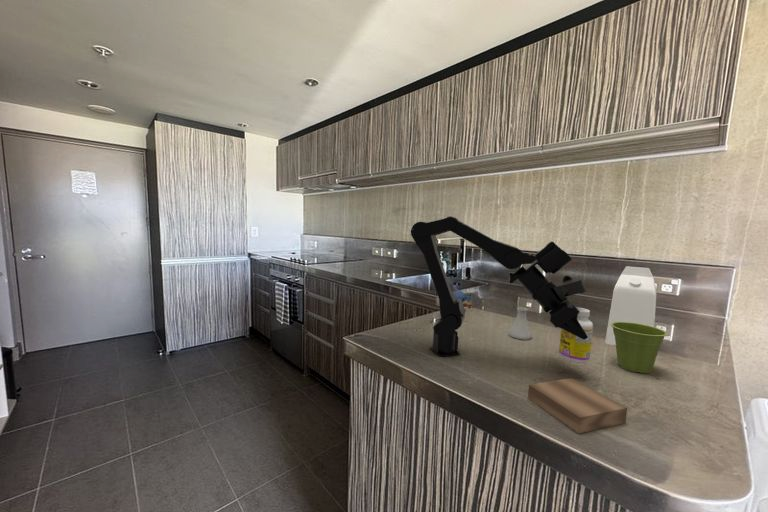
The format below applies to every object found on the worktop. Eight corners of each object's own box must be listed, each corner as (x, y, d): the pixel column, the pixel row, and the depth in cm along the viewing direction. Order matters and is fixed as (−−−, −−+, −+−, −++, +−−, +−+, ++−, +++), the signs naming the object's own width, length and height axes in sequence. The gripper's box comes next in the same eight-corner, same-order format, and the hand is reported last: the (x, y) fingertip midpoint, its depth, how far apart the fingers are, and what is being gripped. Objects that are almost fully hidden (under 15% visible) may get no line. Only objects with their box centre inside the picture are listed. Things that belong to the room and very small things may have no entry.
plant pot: (611, 355, 92) (615, 319, 91) (664, 369, 84) (669, 329, 83) (602, 366, 84) (606, 326, 83) (660, 383, 75) (665, 338, 74)
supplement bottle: (554, 352, 82) (559, 304, 80) (581, 355, 80) (587, 307, 79) (564, 362, 75) (569, 311, 74) (594, 366, 74) (600, 313, 73)
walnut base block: (578, 433, 55) (580, 417, 54) (527, 398, 66) (528, 384, 66) (625, 422, 58) (627, 407, 58) (569, 390, 70) (570, 378, 70)
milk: (653, 344, 103) (662, 268, 101) (652, 353, 95) (661, 270, 93) (609, 335, 112) (617, 264, 109) (604, 342, 103) (612, 266, 101)
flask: (521, 341, 101) (524, 312, 100) (504, 334, 108) (506, 306, 107) (536, 339, 105) (538, 310, 104) (518, 332, 111) (520, 305, 110)
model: (445, 304, 151) (446, 285, 150) (455, 301, 157) (456, 283, 157) (467, 309, 143) (468, 289, 142) (477, 306, 149) (478, 287, 148)
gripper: (572, 269, 68) (626, 325, 65) (559, 262, 86) (601, 307, 83) (530, 299, 72) (580, 354, 69) (525, 287, 89) (565, 330, 86)
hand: (582, 334), depth 77 cm, fingers closed on supplement bottle, 7 cm apart
